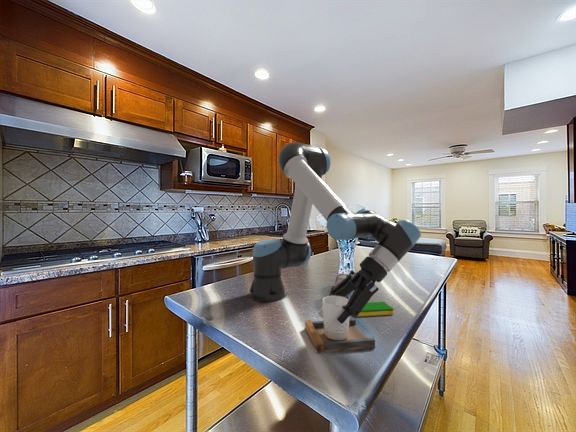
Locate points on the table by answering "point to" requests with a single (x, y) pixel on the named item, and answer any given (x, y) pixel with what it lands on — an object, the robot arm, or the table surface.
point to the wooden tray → (325, 344)
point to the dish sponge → (376, 309)
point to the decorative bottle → (340, 280)
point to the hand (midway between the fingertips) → (324, 322)
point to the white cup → (330, 310)
